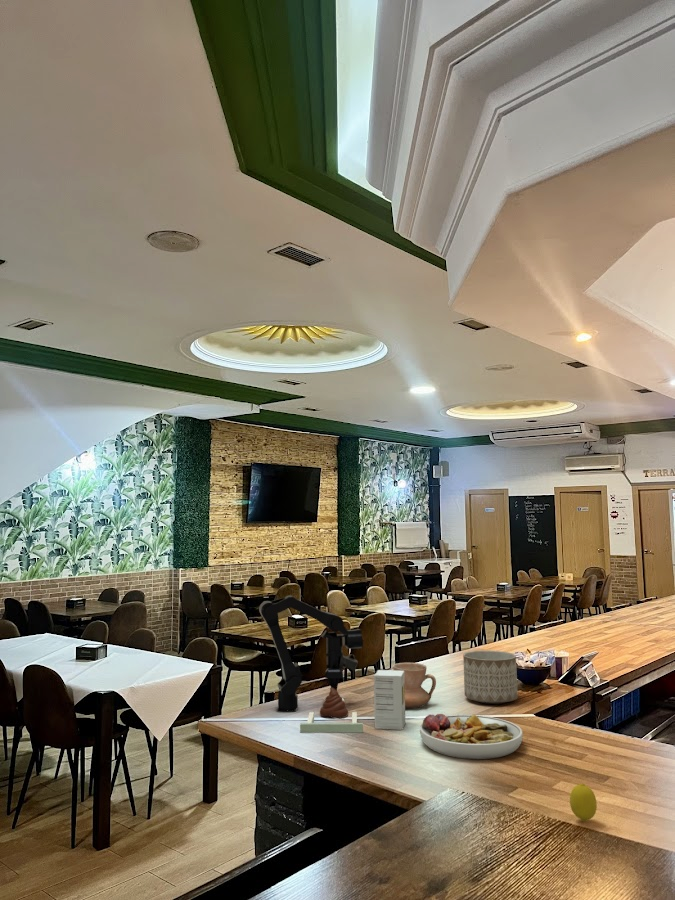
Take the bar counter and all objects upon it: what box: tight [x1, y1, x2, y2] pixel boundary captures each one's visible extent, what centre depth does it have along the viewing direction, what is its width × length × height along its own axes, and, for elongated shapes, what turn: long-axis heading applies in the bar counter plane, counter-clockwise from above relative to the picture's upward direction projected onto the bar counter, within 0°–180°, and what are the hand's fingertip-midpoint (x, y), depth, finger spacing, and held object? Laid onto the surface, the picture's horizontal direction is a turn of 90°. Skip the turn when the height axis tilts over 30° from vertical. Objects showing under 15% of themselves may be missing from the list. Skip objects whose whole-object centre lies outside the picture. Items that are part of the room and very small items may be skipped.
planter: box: [462, 650, 519, 705], centre depth 254 cm, size 19×19×16 cm
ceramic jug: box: [392, 662, 437, 709], centre depth 247 cm, size 18×14×14 cm
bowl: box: [419, 713, 523, 760], centre depth 202 cm, size 30×30×8 cm
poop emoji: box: [319, 687, 349, 719], centre depth 236 cm, size 10×9×9 cm
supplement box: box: [373, 669, 406, 731], centre depth 223 cm, size 10×9×17 cm
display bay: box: [299, 711, 364, 734], centre depth 223 cm, size 20×14×2 cm
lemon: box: [569, 782, 598, 823], centre depth 149 cm, size 6×6×8 cm
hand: (334, 693), depth 248 cm, fingers closed
